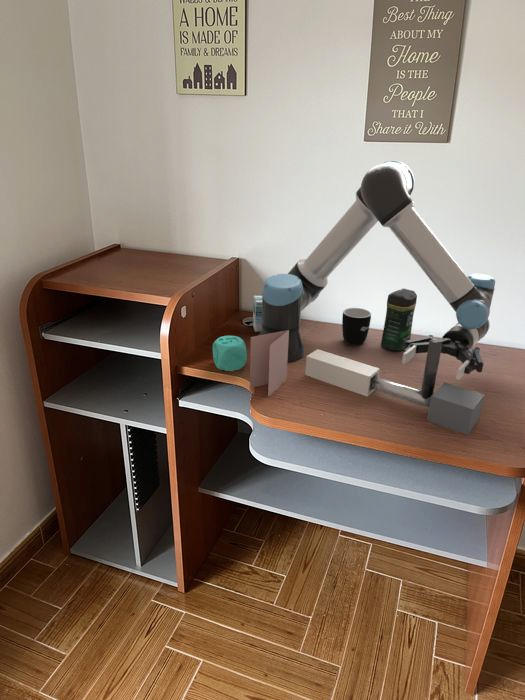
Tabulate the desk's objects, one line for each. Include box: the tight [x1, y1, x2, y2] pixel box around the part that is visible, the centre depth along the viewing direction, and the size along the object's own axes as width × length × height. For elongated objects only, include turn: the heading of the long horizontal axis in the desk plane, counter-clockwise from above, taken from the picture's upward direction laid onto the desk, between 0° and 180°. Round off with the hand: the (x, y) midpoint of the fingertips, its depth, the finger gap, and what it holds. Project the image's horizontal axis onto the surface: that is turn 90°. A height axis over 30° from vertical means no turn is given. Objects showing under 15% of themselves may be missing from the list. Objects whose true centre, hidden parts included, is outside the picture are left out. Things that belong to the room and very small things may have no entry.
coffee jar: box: [380, 287, 418, 352], centre depth 170 cm, size 10×8×19 cm
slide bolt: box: [370, 338, 442, 409], centre depth 137 cm, size 26×4×18 cm, turn 53°
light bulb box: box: [252, 295, 262, 333], centre depth 183 cm, size 11×7×11 cm, turn 98°
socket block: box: [426, 382, 485, 436], centre depth 132 cm, size 10×9×7 cm
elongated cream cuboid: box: [304, 348, 381, 397], centre depth 149 cm, size 20×6×6 cm, turn 53°
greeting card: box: [249, 330, 289, 398], centre depth 143 cm, size 11×7×15 cm, turn 118°
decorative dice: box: [212, 335, 248, 372], centre depth 156 cm, size 8×8×8 cm
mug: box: [341, 307, 372, 346], centre depth 175 cm, size 12×9×10 cm
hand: (430, 366), depth 130 cm, fingers open, 13 cm apart
